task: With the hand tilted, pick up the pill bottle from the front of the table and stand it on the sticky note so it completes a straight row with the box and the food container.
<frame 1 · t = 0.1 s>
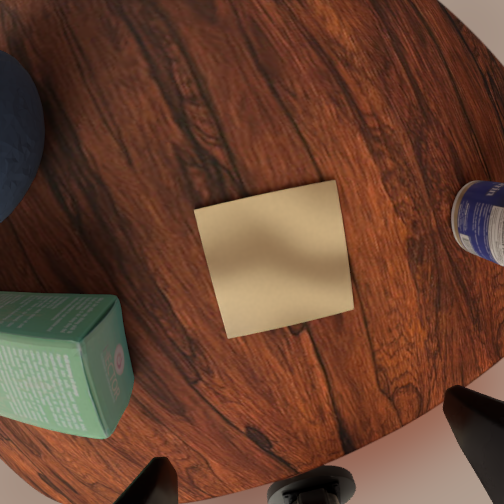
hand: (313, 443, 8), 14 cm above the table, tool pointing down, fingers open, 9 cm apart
box: (58, 332, 22), on the table
sticky note: (279, 262, 21), on the table
decorative stone: (15, 144, 18), on the table
pill bottle: (472, 215, 21), on the table
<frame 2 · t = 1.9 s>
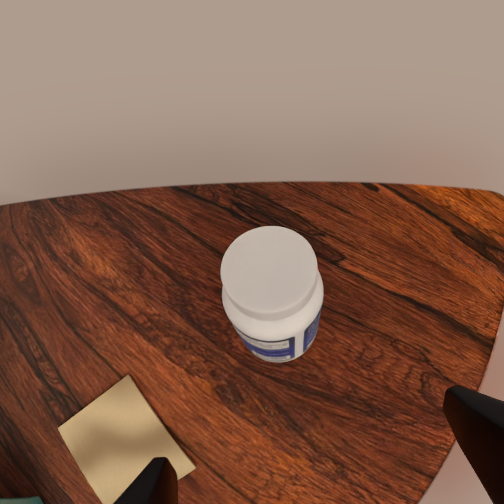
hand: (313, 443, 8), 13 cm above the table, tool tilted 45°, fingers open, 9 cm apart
sticky note: (119, 449, 20), on the table
pill bottle: (278, 327, 24), on the table
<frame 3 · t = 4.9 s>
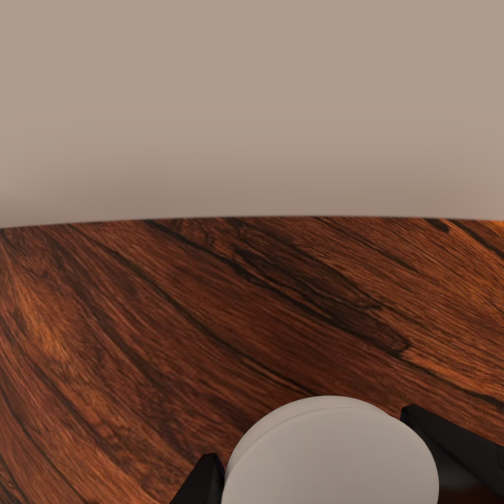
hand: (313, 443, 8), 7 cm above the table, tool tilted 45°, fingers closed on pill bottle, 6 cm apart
pill bottle: (310, 459, 13), on the table, touching gripper
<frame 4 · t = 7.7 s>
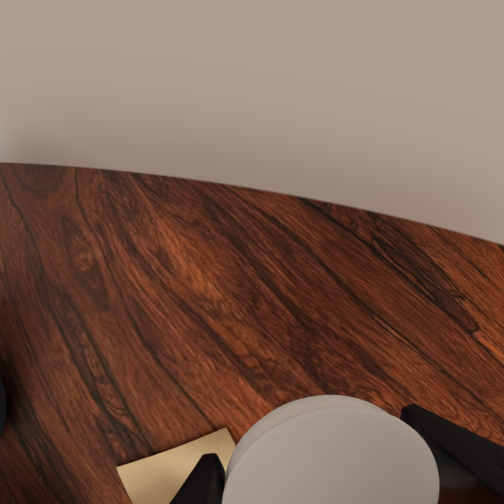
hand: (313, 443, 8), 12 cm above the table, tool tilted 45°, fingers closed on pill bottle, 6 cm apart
pill bottle: (310, 459, 13), point 5 cm above the table, touching gripper
when the fingers open (7 cm above the table, at t = 10.7 s): pill bottle stays where it is, resting on sticky note.
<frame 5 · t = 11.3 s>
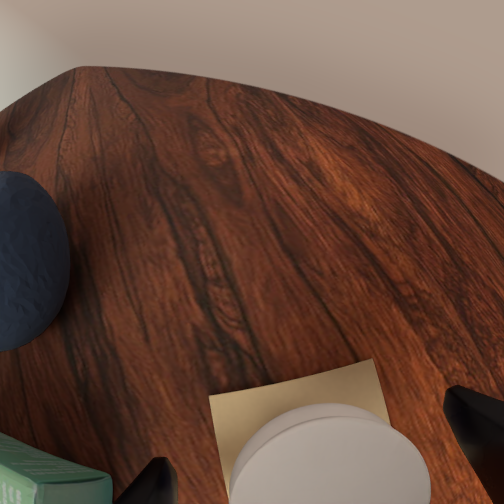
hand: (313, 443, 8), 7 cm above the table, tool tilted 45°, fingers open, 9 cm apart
box: (40, 493, 13), on the table
sticky note: (309, 459, 14), on the table
decorative stone: (42, 297, 21), on the table
pill bottle: (310, 461, 14), resting on sticky note
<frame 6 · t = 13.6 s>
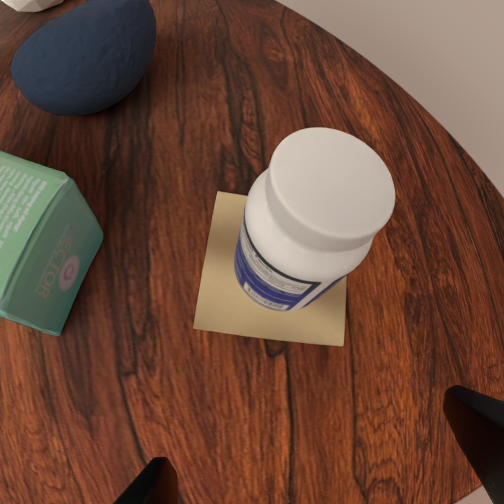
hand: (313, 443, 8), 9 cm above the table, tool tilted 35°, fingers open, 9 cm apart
box: (16, 252, 18), on the table
sticky note: (277, 267, 20), on the table
geometric sphere: (49, 5, 31), on the table
decorative stone: (97, 97, 24), on the table
pill bottle: (278, 269, 20), resting on sticky note
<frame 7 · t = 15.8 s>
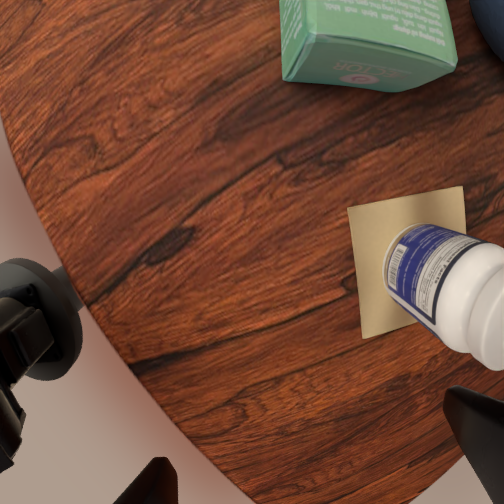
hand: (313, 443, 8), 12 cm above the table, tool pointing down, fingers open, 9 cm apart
box: (332, 3, 16), on the table
sticky note: (416, 261, 20), on the table
decorative stone: (492, 31, 16), on the table
pill bottle: (414, 262, 20), resting on sticky note
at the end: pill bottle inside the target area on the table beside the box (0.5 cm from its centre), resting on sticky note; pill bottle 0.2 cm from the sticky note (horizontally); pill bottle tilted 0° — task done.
